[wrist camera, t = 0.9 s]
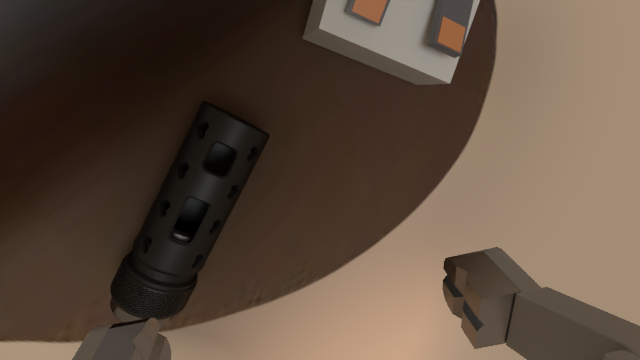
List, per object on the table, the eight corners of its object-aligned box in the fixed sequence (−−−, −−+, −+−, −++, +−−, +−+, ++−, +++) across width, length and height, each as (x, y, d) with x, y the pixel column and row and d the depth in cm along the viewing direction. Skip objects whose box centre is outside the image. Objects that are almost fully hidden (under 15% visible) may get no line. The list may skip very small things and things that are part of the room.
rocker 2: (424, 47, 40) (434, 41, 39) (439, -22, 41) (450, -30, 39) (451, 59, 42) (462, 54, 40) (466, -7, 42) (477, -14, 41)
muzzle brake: (266, 131, 47) (278, 140, 38) (183, 293, 50) (174, 340, 40) (203, 98, 44) (198, 99, 34) (117, 274, 46) (90, 322, 37)
